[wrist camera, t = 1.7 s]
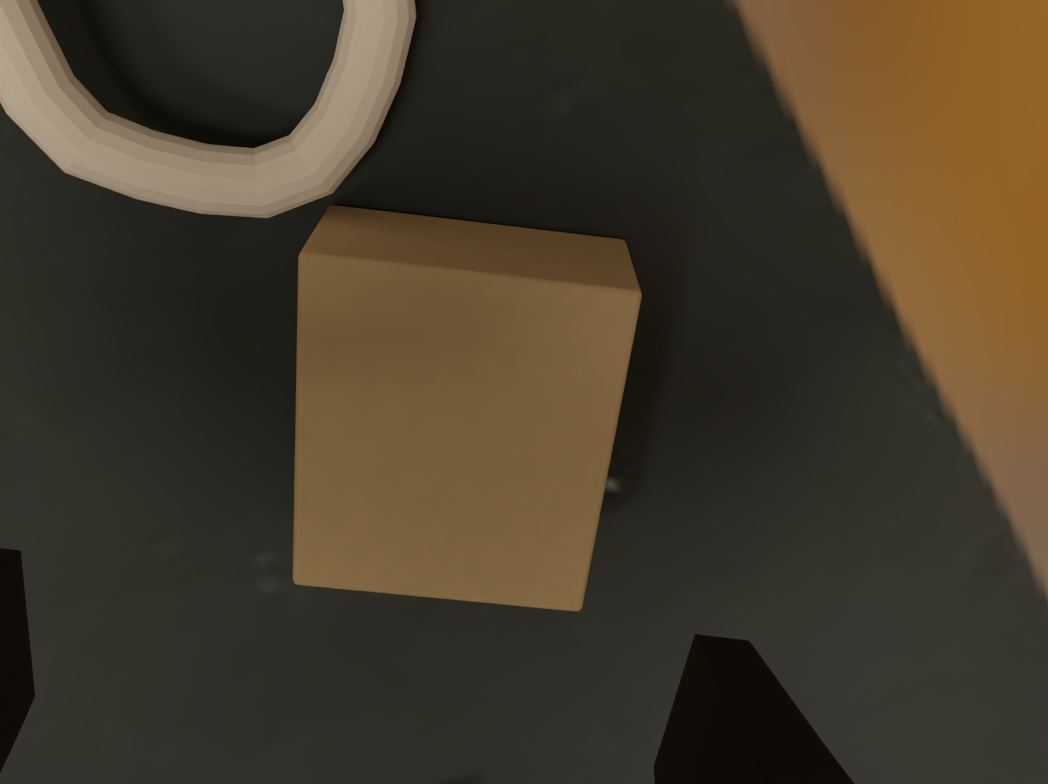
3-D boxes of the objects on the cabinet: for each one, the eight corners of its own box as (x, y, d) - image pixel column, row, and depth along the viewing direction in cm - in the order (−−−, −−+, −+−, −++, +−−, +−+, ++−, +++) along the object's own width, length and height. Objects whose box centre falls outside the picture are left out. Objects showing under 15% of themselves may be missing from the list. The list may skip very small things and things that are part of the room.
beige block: (574, 529, 19) (581, 614, 17) (318, 504, 19) (292, 586, 16) (626, 238, 16) (643, 291, 14) (328, 202, 16) (296, 251, 14)
